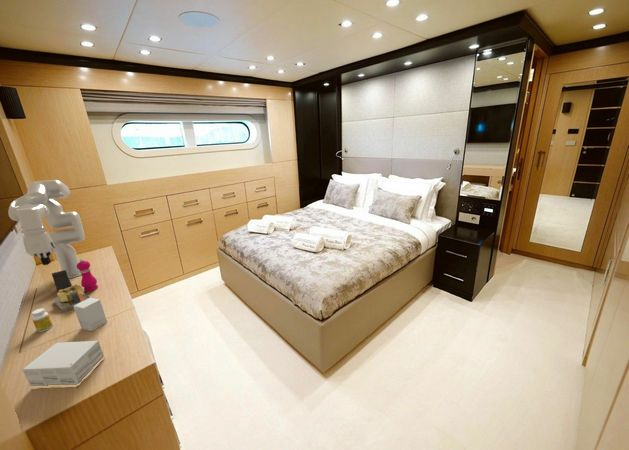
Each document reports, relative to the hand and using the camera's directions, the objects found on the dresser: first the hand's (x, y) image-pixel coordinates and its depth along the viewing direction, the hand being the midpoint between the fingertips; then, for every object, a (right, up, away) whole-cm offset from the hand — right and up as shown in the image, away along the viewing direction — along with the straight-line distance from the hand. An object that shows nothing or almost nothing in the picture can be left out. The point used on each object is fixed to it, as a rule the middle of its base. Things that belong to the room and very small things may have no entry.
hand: (47, 263), depth 139 cm
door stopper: (-9, -19, +19) cm, 28 cm away
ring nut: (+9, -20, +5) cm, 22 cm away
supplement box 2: (+37, -28, -14) cm, 48 cm away
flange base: (+8, -22, +6) cm, 24 cm away
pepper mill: (+8, -18, +19) cm, 27 cm away
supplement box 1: (+50, -36, -40) cm, 73 cm away
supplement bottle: (+14, -29, -15) cm, 35 cm away
